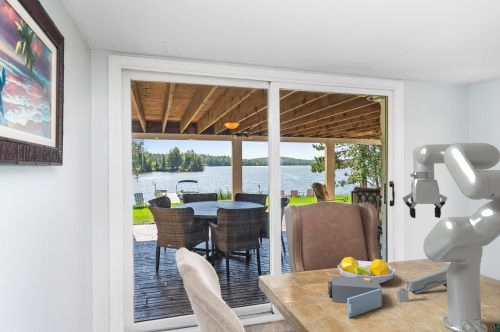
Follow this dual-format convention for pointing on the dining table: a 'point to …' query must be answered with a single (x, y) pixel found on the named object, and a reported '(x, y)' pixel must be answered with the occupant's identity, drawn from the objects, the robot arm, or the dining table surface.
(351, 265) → the fruit bowl
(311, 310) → the dining table surface
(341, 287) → the grey block
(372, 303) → the side door
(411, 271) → the dining table surface
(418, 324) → the dining table surface
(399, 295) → the pale grey angled bracket
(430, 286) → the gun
